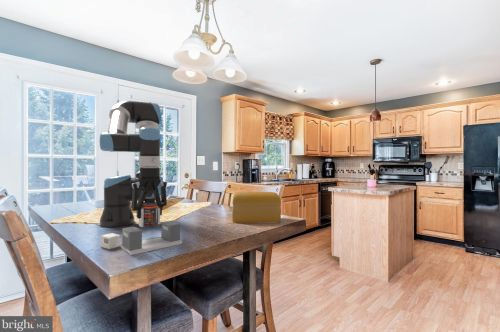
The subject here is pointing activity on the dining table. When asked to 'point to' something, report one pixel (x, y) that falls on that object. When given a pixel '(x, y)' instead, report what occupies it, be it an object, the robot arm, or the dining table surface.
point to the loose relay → (110, 241)
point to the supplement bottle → (150, 212)
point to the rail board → (135, 244)
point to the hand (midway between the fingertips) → (149, 224)
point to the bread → (256, 207)
